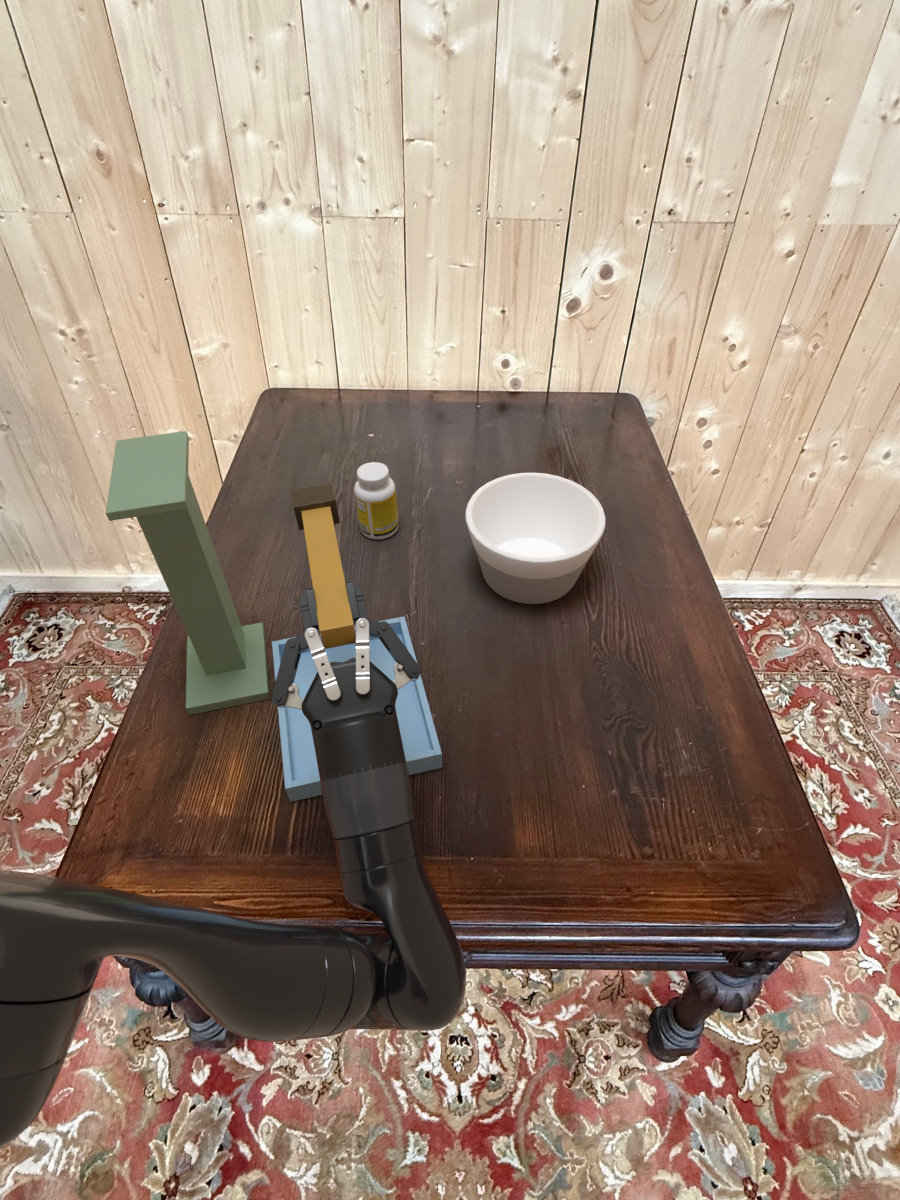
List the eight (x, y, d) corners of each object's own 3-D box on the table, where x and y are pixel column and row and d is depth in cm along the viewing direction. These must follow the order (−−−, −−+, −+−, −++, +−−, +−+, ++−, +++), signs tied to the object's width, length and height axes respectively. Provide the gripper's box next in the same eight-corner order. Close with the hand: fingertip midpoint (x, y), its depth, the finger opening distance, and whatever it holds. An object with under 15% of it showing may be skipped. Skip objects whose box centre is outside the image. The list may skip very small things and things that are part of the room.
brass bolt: (316, 651, 62) (310, 627, 59) (296, 513, 75) (290, 489, 73) (365, 641, 62) (360, 617, 60) (336, 506, 76) (332, 482, 74)
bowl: (568, 635, 94) (578, 579, 86) (442, 591, 100) (441, 535, 92) (611, 549, 106) (623, 493, 98) (496, 514, 112) (499, 458, 104)
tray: (290, 802, 78) (285, 788, 75) (276, 656, 92) (271, 641, 90) (442, 767, 80) (442, 753, 78) (405, 631, 95) (404, 616, 92)
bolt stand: (189, 715, 86) (87, 515, 62) (190, 643, 94) (100, 442, 70) (270, 698, 87) (201, 498, 64) (264, 629, 95) (201, 428, 72)
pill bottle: (404, 519, 111) (399, 462, 103) (391, 544, 107) (385, 486, 99) (367, 512, 112) (360, 455, 104) (354, 537, 108) (345, 480, 100)
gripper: (447, 756, 57) (406, 560, 61) (276, 794, 55) (244, 588, 59) (439, 758, 64) (402, 583, 68) (287, 792, 62) (258, 609, 66)
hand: (329, 586), depth 63 cm, fingers closed on brass bolt, 3 cm apart
